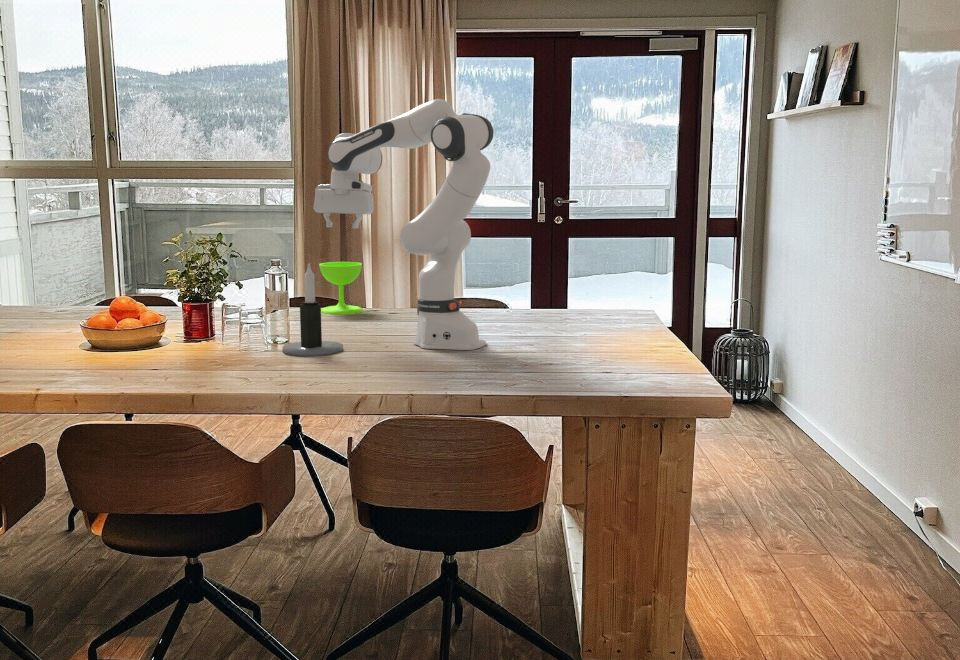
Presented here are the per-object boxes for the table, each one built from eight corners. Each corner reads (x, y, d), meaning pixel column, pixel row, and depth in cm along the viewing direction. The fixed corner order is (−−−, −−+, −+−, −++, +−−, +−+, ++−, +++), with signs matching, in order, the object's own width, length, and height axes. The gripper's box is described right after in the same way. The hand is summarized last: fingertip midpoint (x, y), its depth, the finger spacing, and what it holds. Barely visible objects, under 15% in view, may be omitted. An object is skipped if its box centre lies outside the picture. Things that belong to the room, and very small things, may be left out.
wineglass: (356, 315, 344) (354, 266, 341) (314, 313, 346) (313, 265, 343) (367, 308, 359) (366, 262, 356) (328, 307, 362) (326, 261, 359)
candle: (309, 348, 275) (306, 264, 271) (299, 346, 279) (296, 263, 274) (323, 346, 279) (321, 263, 274) (313, 343, 282) (310, 262, 278)
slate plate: (354, 347, 284) (353, 343, 284) (323, 358, 267) (323, 354, 267) (303, 342, 290) (303, 339, 290) (270, 353, 274) (270, 349, 274)
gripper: (311, 182, 299) (309, 225, 300) (368, 184, 293) (366, 228, 293) (320, 185, 305) (318, 227, 306) (376, 186, 299) (374, 229, 299)
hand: (342, 227), depth 300 cm, fingers open, 8 cm apart
